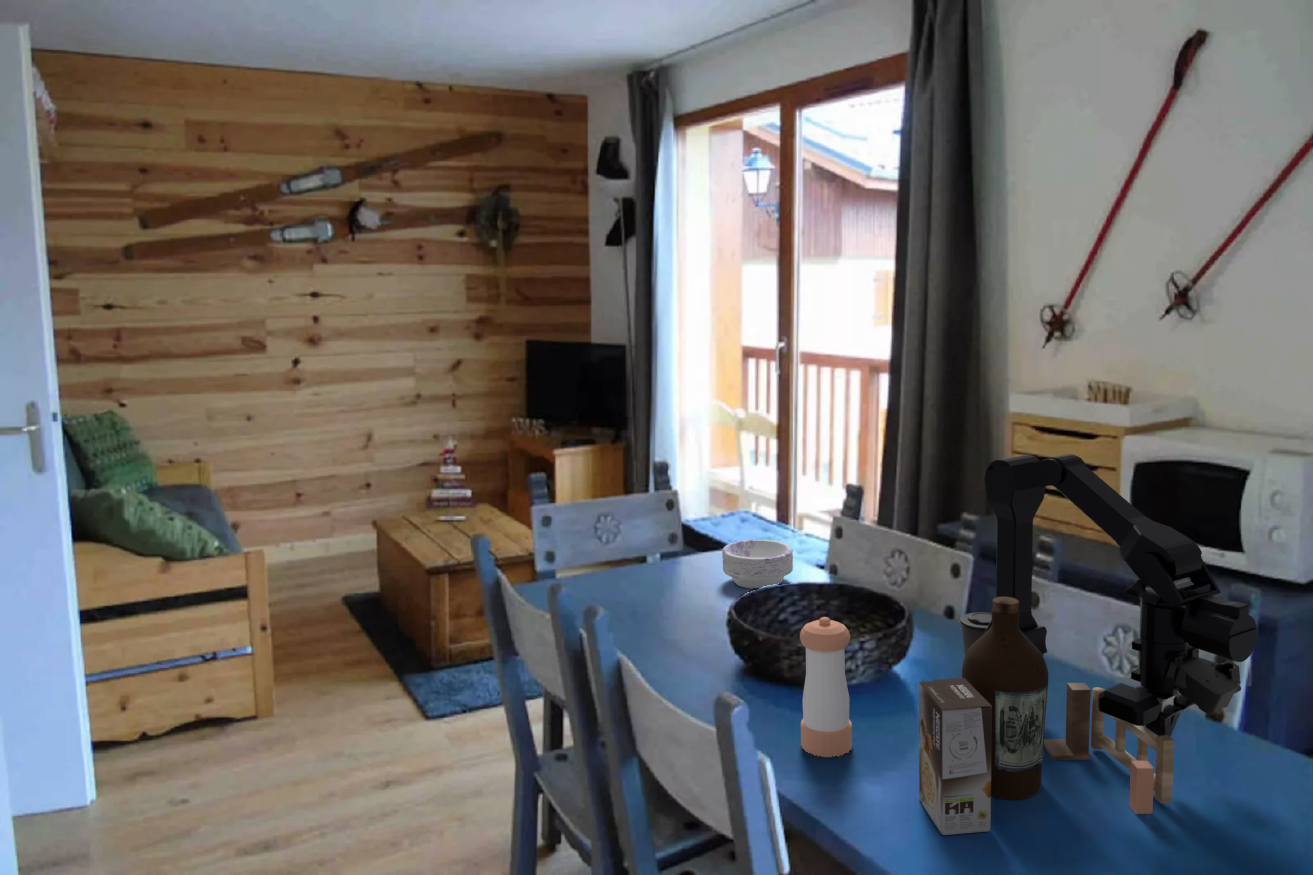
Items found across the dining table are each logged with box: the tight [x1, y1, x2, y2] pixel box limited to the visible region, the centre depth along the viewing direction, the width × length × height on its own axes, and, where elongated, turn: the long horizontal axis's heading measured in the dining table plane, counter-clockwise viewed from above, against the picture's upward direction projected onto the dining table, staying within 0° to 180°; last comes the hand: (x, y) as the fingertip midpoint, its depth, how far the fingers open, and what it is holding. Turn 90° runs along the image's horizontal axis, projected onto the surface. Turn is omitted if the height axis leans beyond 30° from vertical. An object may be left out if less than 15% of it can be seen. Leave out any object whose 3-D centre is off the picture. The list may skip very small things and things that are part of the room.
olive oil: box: [961, 597, 1049, 801], centre depth 135 cm, size 11×11×25 cm
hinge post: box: [1043, 682, 1092, 761], centre depth 144 cm, size 5×5×10 cm
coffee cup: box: [958, 612, 992, 656], centre depth 172 cm, size 8×8×10 cm
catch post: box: [1128, 760, 1155, 815], centre depth 128 cm, size 2×2×6 cm
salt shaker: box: [799, 616, 853, 758], centre depth 148 cm, size 7×7×19 cm
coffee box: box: [918, 677, 992, 836], centre depth 128 cm, size 9×6×16 cm
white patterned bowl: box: [722, 539, 794, 590], centre depth 226 cm, size 15×15×8 cm
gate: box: [1090, 686, 1175, 804], centre depth 136 cm, size 17×2×8 cm, turn 7°
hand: (1160, 749), depth 134 cm, fingers closed
